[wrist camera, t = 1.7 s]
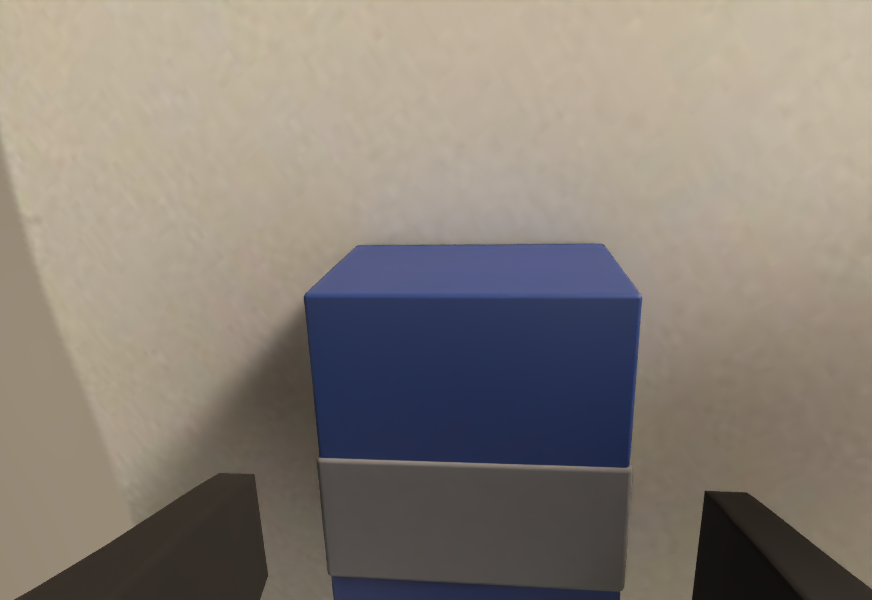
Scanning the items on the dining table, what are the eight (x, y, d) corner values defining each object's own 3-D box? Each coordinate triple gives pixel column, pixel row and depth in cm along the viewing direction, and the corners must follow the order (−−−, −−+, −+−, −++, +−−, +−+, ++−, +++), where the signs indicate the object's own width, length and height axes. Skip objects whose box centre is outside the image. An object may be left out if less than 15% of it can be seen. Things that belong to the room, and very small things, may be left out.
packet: (588, 575, 14) (615, 720, 11) (376, 564, 15) (338, 699, 12) (606, 242, 12) (647, 295, 9) (353, 244, 13) (297, 295, 9)
